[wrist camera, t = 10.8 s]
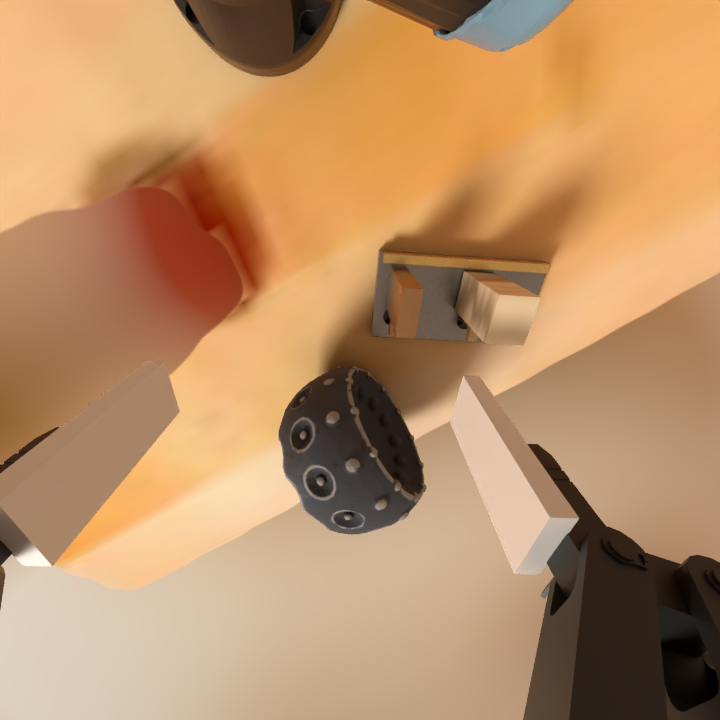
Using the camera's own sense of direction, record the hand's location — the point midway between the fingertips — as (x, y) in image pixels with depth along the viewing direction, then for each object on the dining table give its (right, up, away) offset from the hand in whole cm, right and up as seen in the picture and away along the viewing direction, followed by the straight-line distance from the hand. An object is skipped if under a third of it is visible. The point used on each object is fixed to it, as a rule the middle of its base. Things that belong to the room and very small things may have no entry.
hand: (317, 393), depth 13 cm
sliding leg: (+16, +9, +24) cm, 31 cm away
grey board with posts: (+15, +10, +25) cm, 31 cm away
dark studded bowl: (+1, -4, +33) cm, 34 cm away
